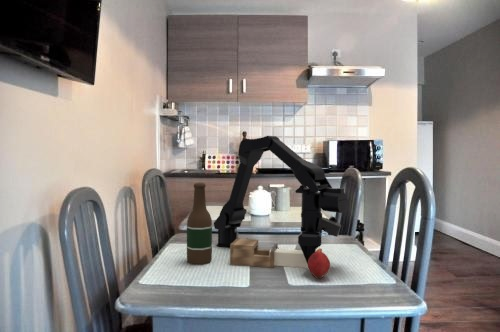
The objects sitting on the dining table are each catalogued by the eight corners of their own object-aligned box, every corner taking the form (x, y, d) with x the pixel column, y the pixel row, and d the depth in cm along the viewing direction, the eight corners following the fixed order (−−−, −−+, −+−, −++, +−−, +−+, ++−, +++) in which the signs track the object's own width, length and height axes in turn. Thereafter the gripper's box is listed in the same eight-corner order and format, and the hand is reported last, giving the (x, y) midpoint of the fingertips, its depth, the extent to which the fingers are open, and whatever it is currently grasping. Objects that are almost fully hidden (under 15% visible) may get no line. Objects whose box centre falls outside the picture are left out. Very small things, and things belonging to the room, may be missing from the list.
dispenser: (230, 264, 107) (230, 244, 107) (236, 257, 115) (236, 238, 114) (273, 267, 104) (273, 247, 104) (277, 259, 112) (277, 240, 112)
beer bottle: (216, 259, 112) (217, 182, 111) (203, 266, 105) (203, 184, 104) (195, 256, 115) (196, 181, 114) (181, 263, 108) (181, 183, 107)
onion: (316, 283, 92) (316, 252, 91) (303, 276, 97) (303, 247, 96) (334, 279, 94) (334, 249, 94) (320, 273, 99) (320, 244, 99)
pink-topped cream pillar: (269, 265, 106) (269, 251, 106) (271, 261, 110) (271, 248, 110) (317, 268, 103) (317, 254, 103) (317, 264, 107) (317, 251, 107)
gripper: (340, 215, 94) (339, 274, 95) (338, 205, 113) (337, 255, 113) (298, 213, 97) (297, 271, 97) (302, 204, 115) (302, 252, 115)
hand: (310, 261), depth 106 cm, fingers open, 7 cm apart
